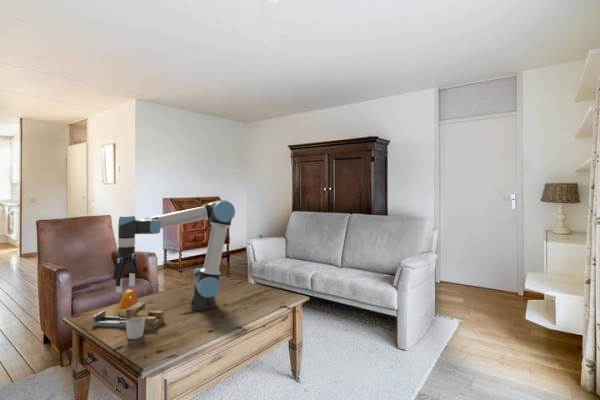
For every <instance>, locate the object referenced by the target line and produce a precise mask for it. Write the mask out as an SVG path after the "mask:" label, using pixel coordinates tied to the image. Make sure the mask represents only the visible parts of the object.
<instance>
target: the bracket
mask: <svg viewBox="0 0 600 400" xmlns="http://www.w3.org/2000/svg"><path fill="white" fill-rule="evenodd" d="M138 302H139V299H138V293H137V292H136V291H134V290H133V289H126V290H125V291H124V292H123V294H122V297H121V300H120V302H119V305H118V307H117V312H118V313H119V312H120V311H121V310H126V309H128V308H130V307H131V306H133V305H134V304H136V303H138Z"/></svg>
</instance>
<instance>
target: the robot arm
mask: <svg viewBox="0 0 600 400" xmlns="http://www.w3.org/2000/svg"><path fill="white" fill-rule="evenodd" d="M235 214H236V208H235V206H234V205H233V204H232V202H230V201H227V200H222V199H219V200H215V201H212V202H209V203H204V204H203V205H202V206H200V207H194V208H189V209H184V210H180V211H174V212H169V213H165V214H159V215H156V216H150V217H149V216H147V217H145V218H143V219H136V216H135V215H121V216H119V217H118V225H117V226H118V228H117V231H118V235H117V236H118V239H117V241H118V243H117V245H118V247H117V254H118V255H120V256H119V258H116V259H115V268H114V270H113V275H112V280H115V293H118V294H119V293H120V294H122V293H123V278H122V277H123V274H124V272H125V268H126V267H128V270H129V273H128V275H129V277H128V287H135V286H136V274H138V270H139V268H138V263H137V254H135V251H136V247H135V245H136V235H156V234H157V235H158V234H160V232H161V229H165V228H171V227H174V226H179V225H184V224H188V223H192V222H197V221H202V220H206V221H209V223H210V224H211V228H210V234H209V238H208V243H207V248H206V249H207V250H206V253H205V258H204V263H203V267H200V268H199V267H198V268H195V269H194V270H193V271H194V272H193V295H192V297H191V301H190V303H189V307H190V309H191V310H193V311H199V310H202V311H208V310H207V309H209V310H212V309H211V308H213V309H214V307H215V306H216V307H217V303H218V301H217V299H216V295H217V294H218V293H219V291H220V289H221V283H220V279H221V273H222V272H221V271H220V265H221V261H222V256H223V251H224V245H225V242H226V241H225V240H226V236H227V231H228V228H230V227H231V226H232V225H231V224H232V220H233V219H234V217H235ZM216 307H215V308H216Z"/></svg>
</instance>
